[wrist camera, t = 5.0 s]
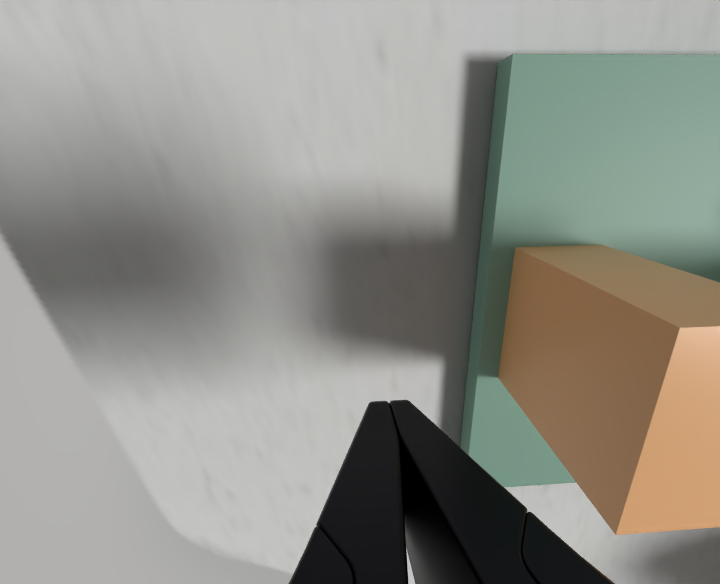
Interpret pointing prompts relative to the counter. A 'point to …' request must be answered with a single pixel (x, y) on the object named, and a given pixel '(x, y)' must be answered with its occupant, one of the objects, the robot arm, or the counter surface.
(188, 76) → the counter surface
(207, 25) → the counter surface
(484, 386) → the heatsink board
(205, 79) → the counter surface
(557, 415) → the orange stepped block
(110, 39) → the counter surface
